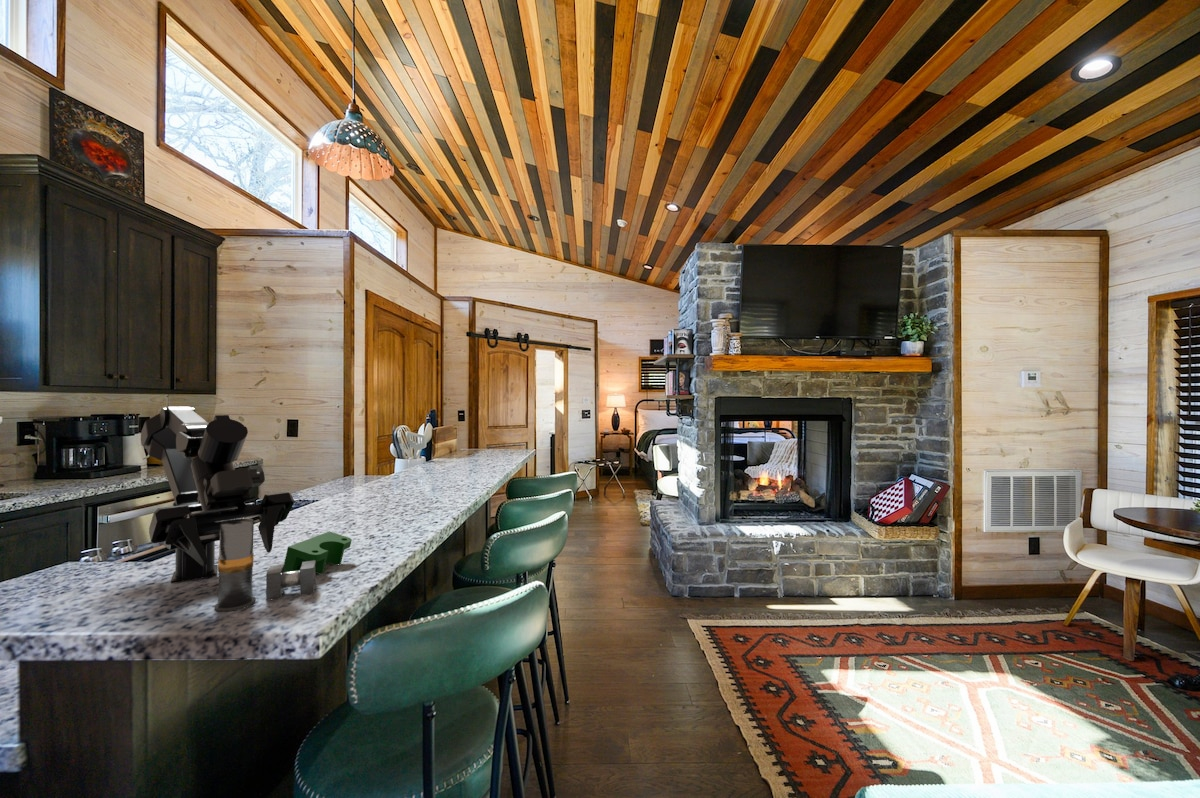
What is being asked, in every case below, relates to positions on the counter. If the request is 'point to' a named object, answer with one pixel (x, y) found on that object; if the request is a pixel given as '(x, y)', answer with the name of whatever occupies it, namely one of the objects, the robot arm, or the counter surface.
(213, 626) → the counter surface
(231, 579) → the sleeve
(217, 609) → the pad
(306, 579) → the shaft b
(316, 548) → the clamp
